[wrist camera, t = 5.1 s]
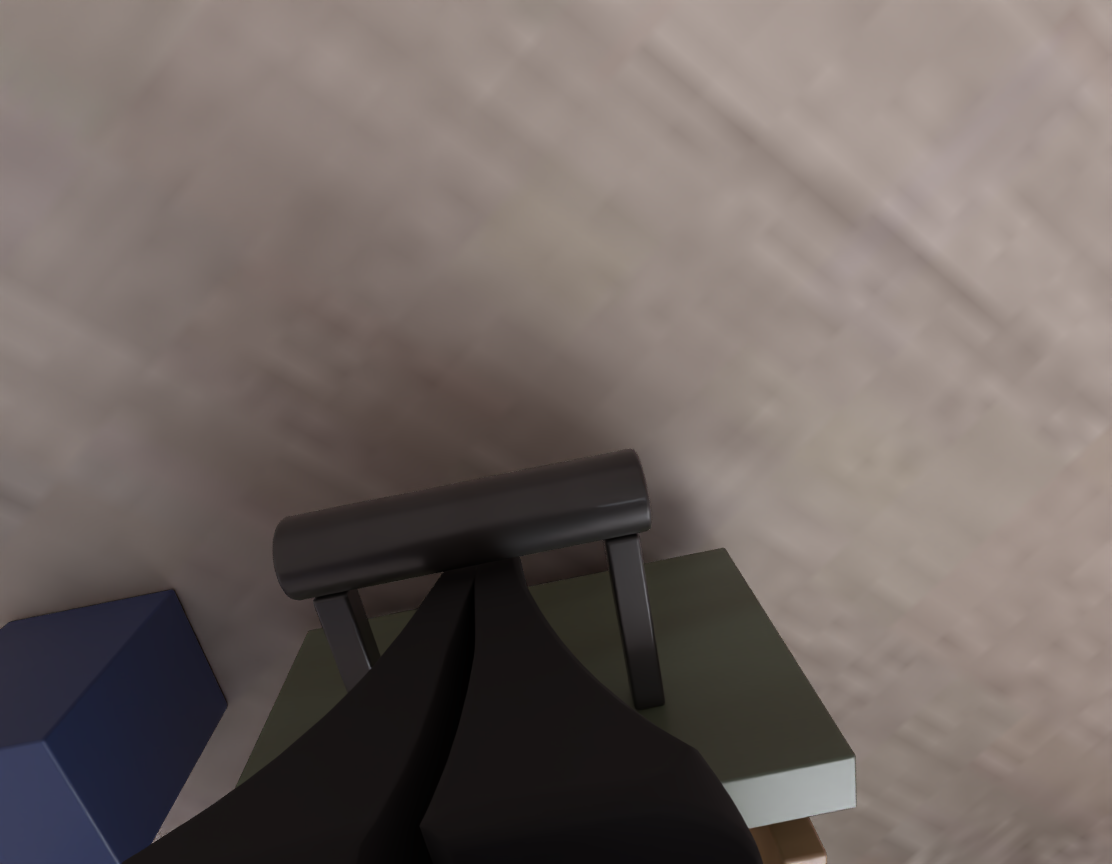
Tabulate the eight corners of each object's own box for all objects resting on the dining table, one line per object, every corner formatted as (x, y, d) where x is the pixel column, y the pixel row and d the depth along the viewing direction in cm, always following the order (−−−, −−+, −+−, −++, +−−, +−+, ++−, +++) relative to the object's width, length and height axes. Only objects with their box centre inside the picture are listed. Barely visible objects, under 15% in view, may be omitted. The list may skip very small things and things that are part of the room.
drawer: (237, 450, 15) (36, 633, 8) (705, 357, 15) (851, 471, 8) (427, 936, 21) (393, 1250, 14) (758, 869, 21) (865, 1154, 14)
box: (229, 705, 18) (131, 883, 13) (76, 736, 18) (-77, 925, 13) (174, 587, 17) (42, 740, 12) (8, 620, 17) (-189, 786, 12)
